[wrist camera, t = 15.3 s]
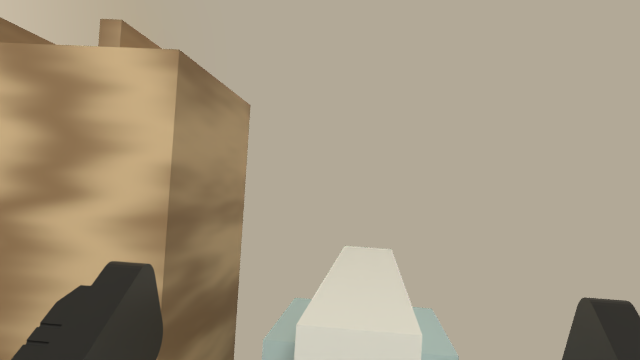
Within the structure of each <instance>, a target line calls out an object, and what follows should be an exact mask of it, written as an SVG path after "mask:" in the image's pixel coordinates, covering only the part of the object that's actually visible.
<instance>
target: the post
mask: <svg viewBox="0 0 640 360" xmlns="http://www.w3.org/2000/svg"><path fill="white" fill-rule="evenodd" d="M311 300H312V299H303V298H295V299H294V300H293V301H292V303H291V304H290V305H289V307H288V308H287V309H286V311H285V312H284V313H283V314H282V316H281V317H280V319H279V320H278V321H277V322H276V324H275V325H274V326H273V328H272V329H271V330H270V332H269V333H268V334H267V336H266V337H265V338H264V339H263V352H262V360H294V352H295V336H296V324H297V323H298V321H299V319H300V318H301V316H302V315H303V313H304V311H305V310H306V308H307V306H308V305H309V303H310V302H311ZM412 308H413V311H414V313H415V316H416V319H417V322H418V324H419V327H420V330H421V333H422V352H421V360H459V356H458V355H457V353H456V351H455V349H454V347H453V346H452V344H451V342H450V340H449V338H448V337H447V335H446V333H445V332H444V330H443V328H442V326H441V324H440V323H439V321H438V319H437V317H436V315H435V314H434V312H433V310H432V309H429V308H416V307H412Z"/></svg>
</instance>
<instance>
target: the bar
mask: <svg viewBox="0 0 640 360" xmlns="http://www.w3.org/2000/svg"><path fill="white" fill-rule="evenodd" d="M421 352H422V333H421V330H420V327H419V324H418V322H417V319H416V316H415V313H414V311H413V308H412V305H411V302H410V299H409V297H408V294H407V291H406V288H405V285H404V283H403V280H402V277H401V274H400V272H399V269H398V266H397V263H396V260H395V258H394V255H393V252H392V249H382V248H368V247H354V246H344V248H343V250H342V251H341V253H340V254H339V256H338V258H337V259H336V261H335V263H334V264H333V266H332V267H331V269H330V271H329V272H328V274H327V276H326V277H325V279H324V280H323V282H322V284H321V285H320V287H319V289H318V290H317V292H316V293H315V295H314V297H313V298H312V300H311V302H310V303H309V305H308V306H307V308H306V310H305V311H304V313H303V315H302V316H301V318H300V319H299V321H298V323H297V324H296V336H295V352H294V360H421Z"/></svg>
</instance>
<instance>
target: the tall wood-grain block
mask: <svg viewBox="0 0 640 360" xmlns="http://www.w3.org/2000/svg"><path fill="white" fill-rule="evenodd" d="M249 118H250V105H249V104H248V103H247V102H246V101H244V100H243V99H242V98H240V97H239V96H238V95H237V94H235V93H234V92H233V91H231V90H230V89H229V88H228V87H226V86H225V85H224V84H223V83H221V82H220V81H219V80H217V79H216V78H215V77H213V76H212V75H211V74H210V73H208V72H207V71H206V70H205V69H203V68H202V67H200V66H199V65H198V64H197V63H196V62H194V61H193V60H192V59H190V58H189V57H188V56H187V55H185V54H184V53H183V52H182V51H180V50H174V49H162V48H160V47H159V46H157V45H156V44H155V43H153V42H152V41H150V40H149V39H148V38H146V37H145V36H144V35H142V34H141V33H139V32H138V31H137V30H135V29H134V28H132V27H131V26H129V25H128V24H127V23H126V22H124V21H123V20H113V19H100V32H99V45H98V47H97V46H74V45H55V44H53V43H51V42H49V41H47V40H45V39H43V38H41V37H39V36H37V35H35V34H33V33H31V32H29V31H27V30H25V29H23V28H21V27H19V26H17V25H15V24H13V23H11V22H9V21H7V20H4V19H2V18H0V360H11V359H12V358H13V356H14V355H15V354H16V353H17V351H18V350H19V349H20V348H21V346H22V345H25V344H26V342H27V339H28V337H29V336H30V335H31V334H32V332H33V331H34V330H35V329H36V327H39V326H40V322H41V321H42V320H43V318H44V317H45V316H46V315H47V313H48V312H49V311H50V309H51V308H52V307H53V306H54V304H55V303H56V302H57V301H59V300H60V299H61V298H63V297H64V296H66V295H67V294H69V293H70V292H71V291H73V290H74V289H76V288H77V287H79V286H80V285H86V286H91V285H92V284H93V282H94V281H95V280H96V278H97V277H98V275H99V274H100V273H101V271H102V270H103V269H104V267H105V266H106V265H107V264H108V263H109V262H111V261H120V262H133V263H147V264H151V265H152V267H153V269H154V272H155V278H156V284H157V290H158V296H159V302H160V308H161V314H162V321H163V338H162V344H161V348H160V351H159V354H158V357H157V359H156V360H234V344H235V330H236V314H237V300H238V285H239V270H240V254H241V238H242V223H243V209H244V194H245V179H246V164H247V148H248V133H249Z"/></svg>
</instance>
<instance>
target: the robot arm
mask: <svg viewBox="0 0 640 360" xmlns="http://www.w3.org/2000/svg"><path fill="white" fill-rule="evenodd" d="M162 338H163V321H162V314H161V308H160V302H159V296H158V290H157V284H156V278H155V272H154V269H153V267H152V265H151V264H147V263H133V262H120V261H111V262H109V263H108V264H107V265H106V266H105V267H104V269H103V270H102V271H101V273H100V274H99V275H98V277H97V278H96V280H95V281H94V282H93V284H92V285H91V286H86V285H80V286H79V287H77V288H76V289H74V290H73V291H71V292H70V293H69V294H67V295H66V296H64V297H63V298H61V299H60V300H59V301H57V302H56V303H55V304H54V306H53V307H52V308H51V309H50V311H49V312H48V313H47V315H46V316H45V317H44V318H43V320H42V321H41V322H40V326H39V327H36V329H35V330H34V331H33V332H32V334H31V335H30V336H29V337H28V339H27V342H26V344H25V345H22V346H21V348H20V349H19V350H18V351H17V353H16V354H15V355H14V356H13V358H12V359H11V360H156V359H157V357H158V354H159V351H160V348H161V344H162ZM562 360H640V317H639V315H638V313H637V311H636V310H635V308H634V306H633V305H632V304H631V303H630V302H629V301H622V300H610V299H596V298H582V299H581V300H580V302H579V304H578V306H577V310H576V313H575V316H574V320H573V323H572V327H571V330H570V334H569V337H568V341H567V344H566V348H565V351H564V355H563V358H562Z"/></svg>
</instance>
